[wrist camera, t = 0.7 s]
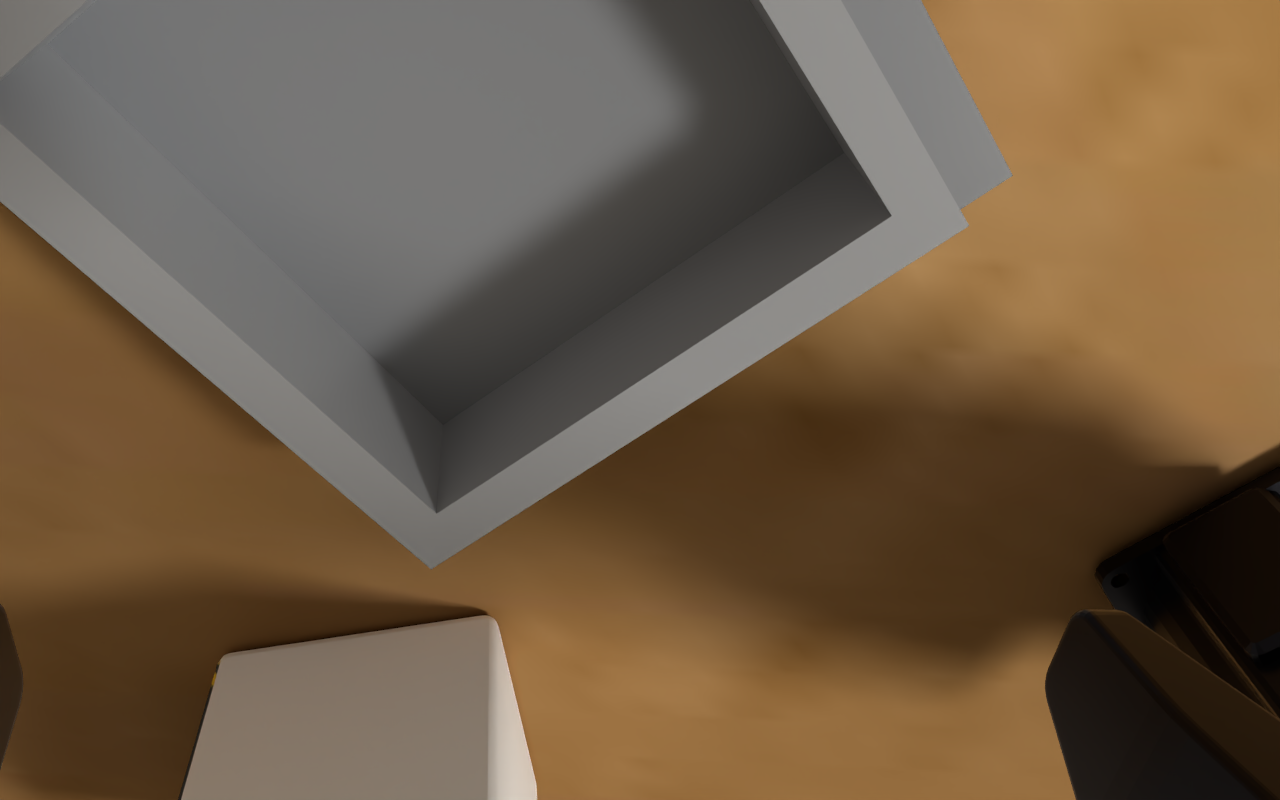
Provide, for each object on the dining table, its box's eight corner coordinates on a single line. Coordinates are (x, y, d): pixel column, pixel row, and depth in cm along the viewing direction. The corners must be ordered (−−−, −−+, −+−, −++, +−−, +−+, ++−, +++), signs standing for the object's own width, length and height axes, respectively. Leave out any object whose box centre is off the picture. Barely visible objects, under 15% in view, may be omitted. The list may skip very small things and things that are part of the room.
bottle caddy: (993, 157, 22) (1081, 239, 19) (433, 522, 26) (424, 645, 22) (545, -688, 15) (560, -801, 11) (-159, -3, 18) (-306, 66, 15)
